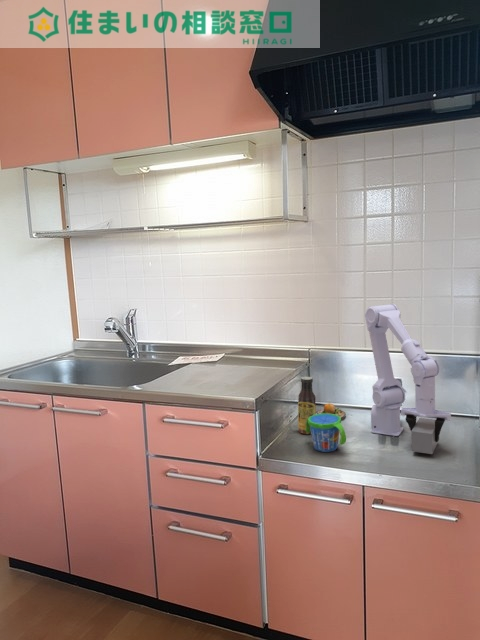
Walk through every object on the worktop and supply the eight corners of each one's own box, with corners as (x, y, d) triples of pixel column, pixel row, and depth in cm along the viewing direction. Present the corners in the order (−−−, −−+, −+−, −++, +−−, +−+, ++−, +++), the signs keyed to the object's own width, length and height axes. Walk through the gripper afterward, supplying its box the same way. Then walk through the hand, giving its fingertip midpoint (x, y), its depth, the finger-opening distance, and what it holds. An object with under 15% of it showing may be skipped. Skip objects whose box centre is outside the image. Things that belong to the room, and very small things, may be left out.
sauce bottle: (296, 434, 174) (293, 379, 171) (301, 428, 180) (298, 375, 177) (314, 435, 172) (312, 380, 169) (318, 429, 177) (316, 375, 175)
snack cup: (297, 445, 165) (296, 416, 163) (321, 437, 170) (320, 408, 169) (329, 460, 152) (328, 429, 150) (354, 451, 157) (353, 420, 155)
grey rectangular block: (411, 451, 151) (411, 431, 150) (419, 436, 162) (419, 417, 161) (432, 454, 148) (432, 433, 147) (439, 439, 159) (439, 420, 158)
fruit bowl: (350, 415, 191) (349, 396, 190) (340, 425, 181) (339, 405, 180) (320, 411, 197) (320, 393, 196) (309, 421, 187) (308, 402, 186)
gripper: (398, 398, 153) (398, 440, 155) (448, 403, 146) (448, 447, 148) (403, 392, 159) (404, 432, 161) (451, 396, 152) (452, 439, 154)
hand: (425, 439), depth 155 cm, fingers closed on grey rectangular block, 6 cm apart
